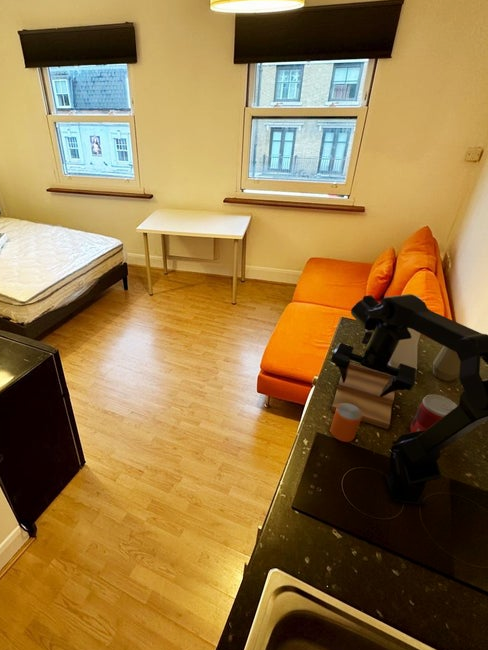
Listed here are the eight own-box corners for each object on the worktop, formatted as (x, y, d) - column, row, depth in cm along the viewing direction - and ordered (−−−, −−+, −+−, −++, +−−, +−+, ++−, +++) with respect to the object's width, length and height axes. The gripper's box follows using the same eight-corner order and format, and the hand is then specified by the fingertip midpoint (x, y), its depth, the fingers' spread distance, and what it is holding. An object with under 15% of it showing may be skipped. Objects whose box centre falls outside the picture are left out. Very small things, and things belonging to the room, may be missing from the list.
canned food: (447, 447, 97) (464, 418, 91) (414, 443, 98) (429, 413, 92) (437, 425, 103) (453, 396, 97) (406, 421, 105) (419, 392, 98)
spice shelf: (387, 429, 102) (393, 415, 99) (330, 410, 108) (335, 396, 105) (392, 389, 115) (397, 375, 112) (341, 375, 121) (345, 361, 118)
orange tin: (357, 443, 98) (365, 421, 94) (331, 440, 99) (338, 418, 95) (352, 425, 104) (359, 404, 99) (328, 422, 104) (334, 401, 100)
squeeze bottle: (458, 373, 122) (482, 326, 112) (457, 387, 116) (482, 339, 106) (430, 364, 125) (451, 318, 115) (428, 378, 120) (449, 331, 110)
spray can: (397, 377, 120) (424, 310, 106) (371, 359, 128) (393, 294, 114) (422, 368, 124) (452, 301, 110) (396, 350, 132) (420, 287, 118)
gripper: (430, 337, 89) (405, 383, 99) (349, 312, 96) (333, 357, 106) (426, 365, 81) (399, 411, 91) (339, 336, 89) (322, 382, 98)
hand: (361, 388), depth 97 cm, fingers open, 9 cm apart
